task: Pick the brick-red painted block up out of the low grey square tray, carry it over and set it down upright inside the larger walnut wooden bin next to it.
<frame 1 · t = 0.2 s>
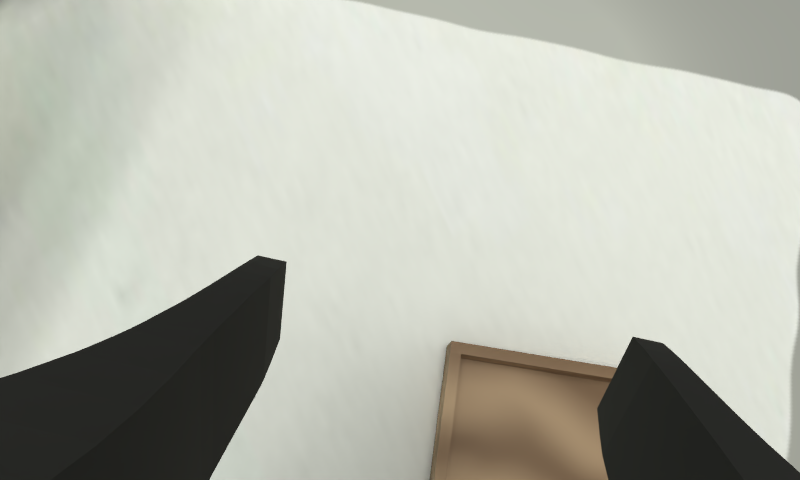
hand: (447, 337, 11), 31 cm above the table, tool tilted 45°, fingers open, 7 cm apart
walnut bin: (538, 469, 40), on the table
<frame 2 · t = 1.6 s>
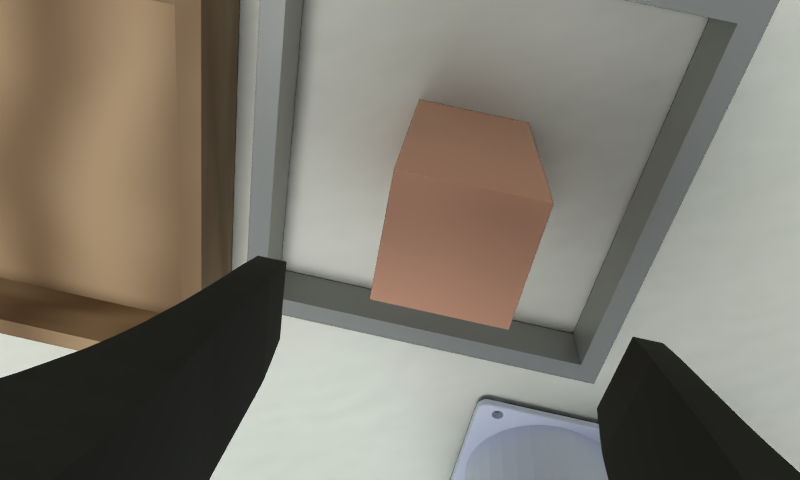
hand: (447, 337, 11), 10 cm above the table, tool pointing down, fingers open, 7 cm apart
grey square tray: (460, 163, 20), on the table
walnut bin: (48, 146, 22), on the table
brick block: (458, 200, 17), in the grey square tray
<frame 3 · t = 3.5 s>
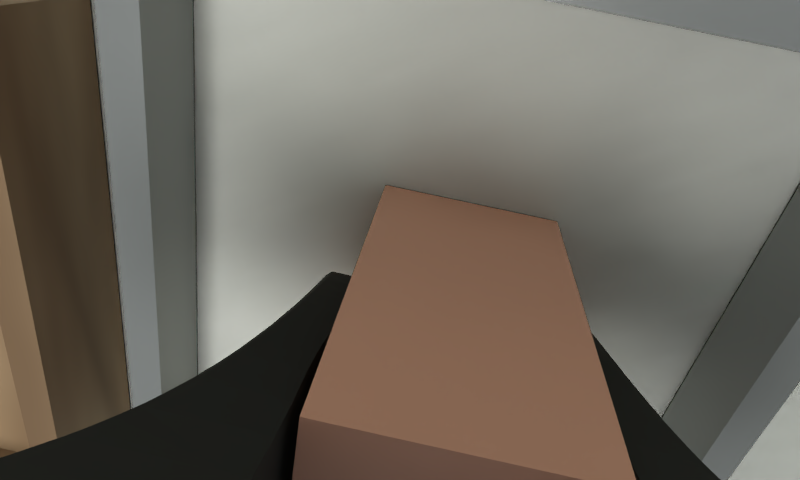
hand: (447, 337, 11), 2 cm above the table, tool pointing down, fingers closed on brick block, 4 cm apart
grey square tray: (451, 275, 13), on the table
brick block: (445, 373, 10), in the grey square tray, touching gripper
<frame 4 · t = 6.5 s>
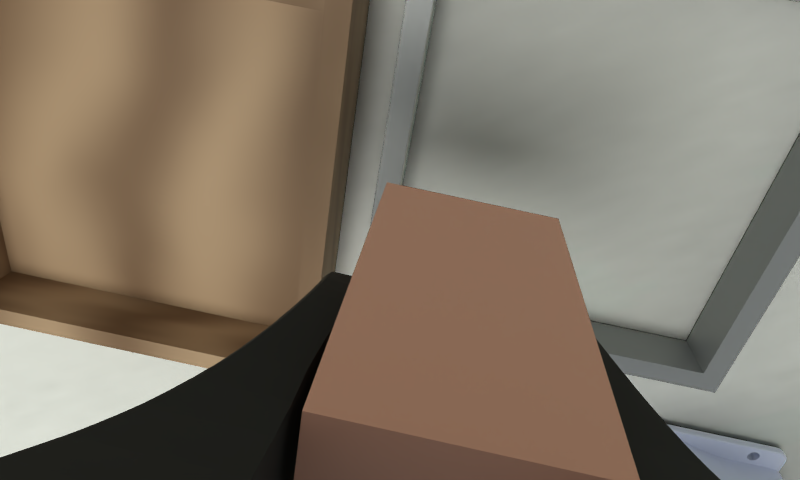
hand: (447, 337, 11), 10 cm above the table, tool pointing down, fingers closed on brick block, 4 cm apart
grey square tray: (585, 168, 20), on the table
walnut bin: (155, 155, 22), on the table
brick block: (446, 369, 10), point 12 cm above the table, touching gripper
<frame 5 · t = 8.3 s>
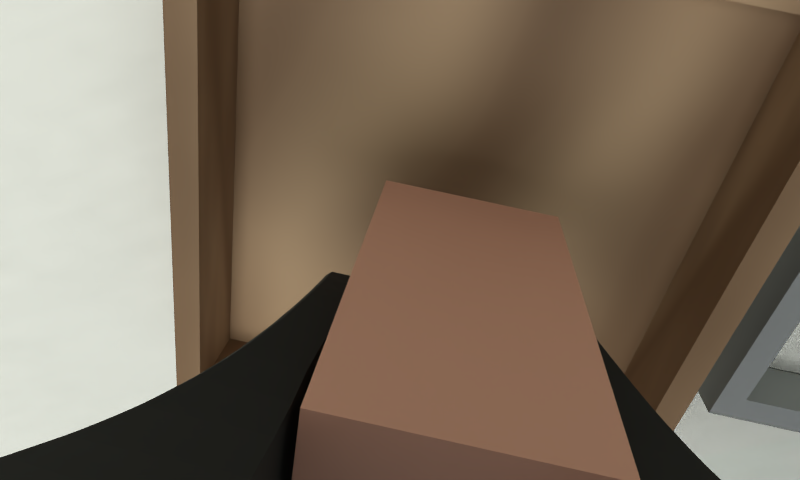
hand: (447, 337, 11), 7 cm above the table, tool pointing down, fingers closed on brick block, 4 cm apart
walnut bin: (457, 205, 17), on the table
brick block: (446, 367, 10), point 8 cm above the table, touching gripper
when the fingers open (4 cm above the table, at t = 9.6 s): brick block drops 1 cm, resting on walnut bin.
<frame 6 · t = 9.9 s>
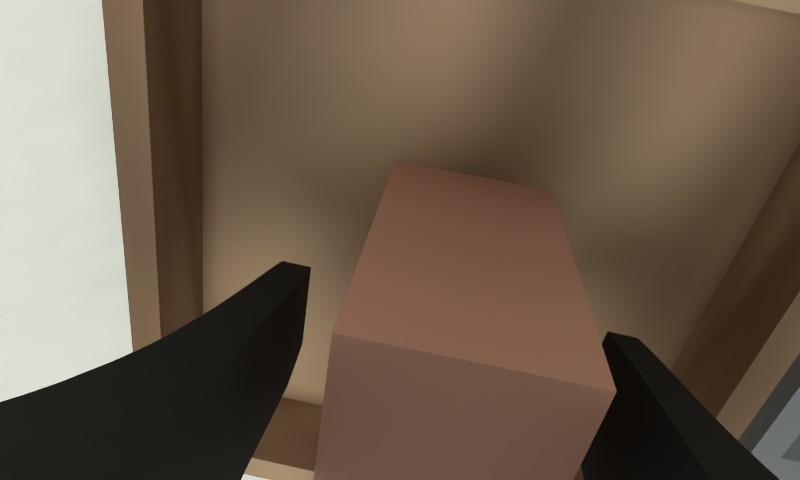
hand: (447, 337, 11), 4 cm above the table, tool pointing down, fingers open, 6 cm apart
walnut bin: (454, 237, 15), on the table
brick block: (452, 322, 11), in the walnut bin
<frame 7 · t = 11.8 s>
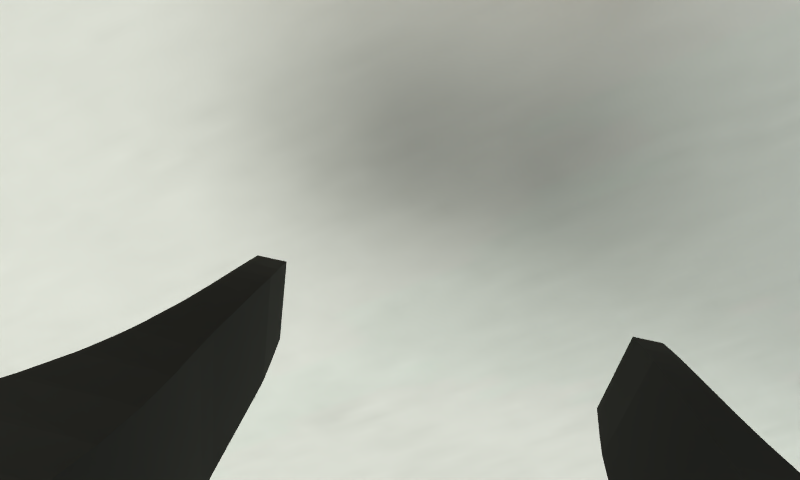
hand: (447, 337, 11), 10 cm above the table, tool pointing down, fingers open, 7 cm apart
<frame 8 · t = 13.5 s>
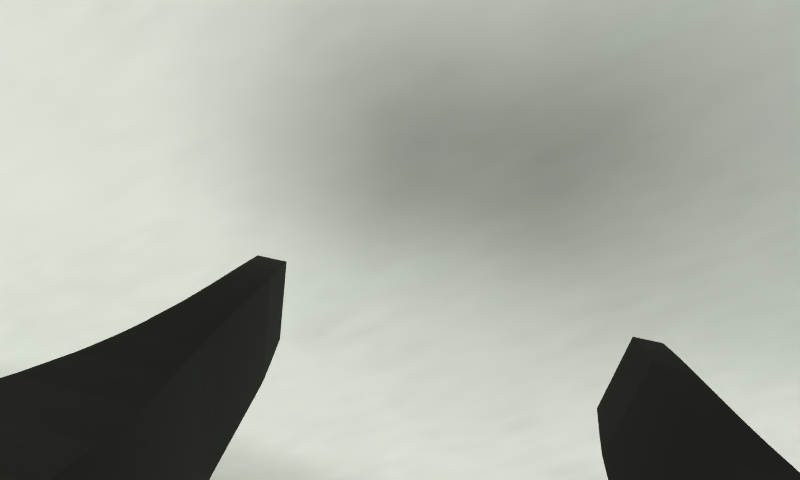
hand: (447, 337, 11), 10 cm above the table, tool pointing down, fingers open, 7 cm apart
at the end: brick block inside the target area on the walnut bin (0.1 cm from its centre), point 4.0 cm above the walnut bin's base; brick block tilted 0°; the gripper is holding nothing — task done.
